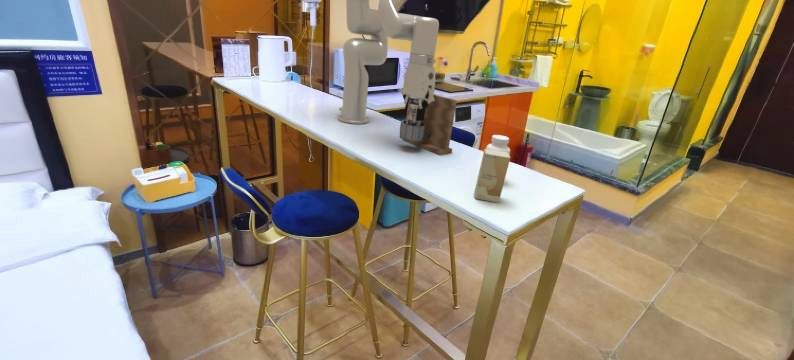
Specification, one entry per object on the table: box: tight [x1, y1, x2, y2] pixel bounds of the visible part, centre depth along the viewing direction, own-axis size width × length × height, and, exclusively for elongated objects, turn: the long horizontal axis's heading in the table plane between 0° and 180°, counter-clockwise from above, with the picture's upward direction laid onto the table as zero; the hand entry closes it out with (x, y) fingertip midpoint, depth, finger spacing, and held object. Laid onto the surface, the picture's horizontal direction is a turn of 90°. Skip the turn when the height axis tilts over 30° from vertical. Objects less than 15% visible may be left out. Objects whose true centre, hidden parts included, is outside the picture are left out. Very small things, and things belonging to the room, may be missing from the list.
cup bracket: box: [399, 93, 458, 156], centre depth 128 cm, size 18×15×18 cm
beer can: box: [405, 95, 424, 126], centre depth 125 cm, size 5×5×12 cm
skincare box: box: [473, 148, 511, 203], centre depth 96 cm, size 6×4×12 cm
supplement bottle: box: [485, 134, 511, 156], centre depth 108 cm, size 7×7×13 cm
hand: (413, 117), depth 125 cm, fingers closed on beer can, 4 cm apart
